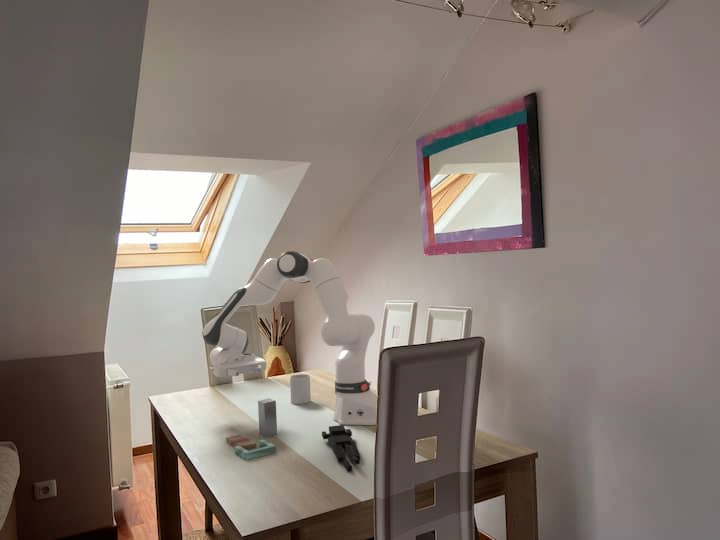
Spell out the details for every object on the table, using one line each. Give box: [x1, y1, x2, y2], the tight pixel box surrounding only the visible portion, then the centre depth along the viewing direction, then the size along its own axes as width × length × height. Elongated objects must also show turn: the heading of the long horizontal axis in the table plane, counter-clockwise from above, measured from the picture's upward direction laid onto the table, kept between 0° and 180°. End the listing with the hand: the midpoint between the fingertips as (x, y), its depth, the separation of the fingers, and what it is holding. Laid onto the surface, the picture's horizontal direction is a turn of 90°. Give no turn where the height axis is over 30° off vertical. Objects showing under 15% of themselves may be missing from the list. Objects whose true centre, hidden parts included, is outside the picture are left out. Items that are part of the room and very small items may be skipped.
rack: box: [225, 433, 277, 461], centre depth 177 cm, size 20×10×2 cm, turn 38°
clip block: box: [257, 397, 278, 439], centre depth 190 cm, size 4×4×12 cm
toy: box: [321, 424, 361, 472], centre depth 168 cm, size 10×5×30 cm
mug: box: [289, 373, 312, 405], centre depth 235 cm, size 12×8×11 cm
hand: (248, 372), depth 201 cm, fingers open, 8 cm apart
